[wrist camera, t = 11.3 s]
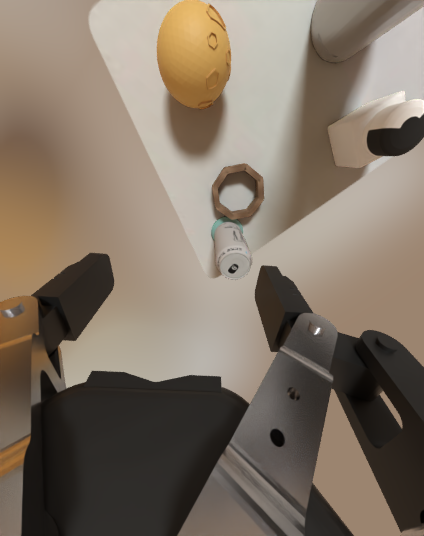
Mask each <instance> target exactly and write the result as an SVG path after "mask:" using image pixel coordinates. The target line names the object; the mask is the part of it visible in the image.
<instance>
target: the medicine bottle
mask: <svg viewBox="0 0 424 536" xmlns="http://www.w3.org/2000/svg"><path fill="white" fill-rule="evenodd" d="M327 129H328V134H329V138H330V143H331V147H332V152H333V156H334V161H335V165H336V166H341V167H352V168H361V167H363V166H365V165H367V164H369V163H371V162H373V161H375V160H376V159H378V158H380V157H382V156H399V155H402V154H405V153H407V152H408V151H409V150H411V149H413V148H414V147H415V146H416V145H417V144H418V143H419V142H420V141H421V140H422V139H423V137H424V100H421V99H413V100H409V101H406V102H405V91H400V92H397V93H394V94H391V95H388V96H385V97H382V98H379V99H376V100H373V101H370V102H368V103H366V104H364V105H363V106H361V107H359V108H358V109H356V110H355V111H353V112H351V113H350V114H348V115H346V116H345V117H343V118H341V119H340V120H338V121H336V122H335V123H333V124H331V125H330V126H328V128H327Z"/></svg>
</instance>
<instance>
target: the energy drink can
mask: <svg viewBox="0 0 424 536" xmlns="http://www.w3.org/2000/svg"><path fill="white" fill-rule="evenodd" d="M214 239H215V256H216V266H217V269H218V270H219V271H220V273H222V274H223V275H224V276H225V277H226V278H228V279H232V280H236V279H241V278H243V277H244V276H245V275H247V273H248V272H249V270H250V267H251V265H252V255H251V253H250V251H249V248H248V246H247V243H246V241H245V239H244V236H243V234H242V232H241V229H240V228H239V226H238V225H237V224H235V223H232V222H225V223H222V224H220V225H219V226H218V227H217V228H216V230H215V234H214Z"/></svg>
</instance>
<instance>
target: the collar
mask: <svg viewBox="0 0 424 536" xmlns="http://www.w3.org/2000/svg"><path fill="white" fill-rule="evenodd" d="M239 171H245V172H247V173H248V174H249V175H250V176H251V177H253V178H254V179H255V183H256V197H255V198H254V200H253V201H252V202H251V204H250V205H249V206H248V208H247V209H243V210H238V211H230V210H229V209H228V208H226V207H225V206H223V205H222V204H221V203H220V201H219V194H218V188H219V186H220V185H221V183H222V182H223V180H224V179H225V177H226V176H227V174H229V173H234V172H239ZM212 190H213V196H214V202H215V208H216V209H217V210H218V211H220V212H221V213H222V214H224V215H225V216H227V217H228V218H230V219H232V220H233V219H239V218H245V217H250V216H252V214H253V213H254V212H255V211H256V209H257V208H258V207H259V206H260V204H261V203H262V202H263V201H264V200H263V199H264V185H263V177H262V176H261V175H259V174H258V173H257V172H256V171H255V170H253V169H252V168H251V167H250V166H249V165H247V164H245V163H243V164H238V165H233V166H228V167H224V168H223V170H222V171H221V173H220V174H219V176H218V177H217V179H216V180H215V182H214V183H213V185H212Z"/></svg>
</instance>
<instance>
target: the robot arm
mask: <svg viewBox="0 0 424 536" xmlns="http://www.w3.org/2000/svg"><path fill="white" fill-rule="evenodd" d="M422 7H424V0H317V2H316V5H315V8H314V12H313V17H312V23H311V35H312V42H313V45H314V48H315V50H316V52H317V53H318V55H319V56H320V57H321V58H322V59H323V60H326V61H328V62H333V63H336V62H342V61H344V60H346V59H348V58H350V57H351V56H353V55H354V54H356V53H357V52H359V51H360V50H362V49H363V48H364V47H366V46H367V45H369V44H370V43H372V42H373V41H375V40H376V39H378V38H379V37H381V36H382V35H383V34H385V33H386V32H388V31H389V30H391V29H392V28H393V27H395V26H396V25H398V24H399V23H401V22H402V21H404V20H405V19H406V18H408V17H409V16H411V15H412V14H414V13H415V12H416V11H418V10H419V9H421V8H422ZM113 286H114V277H113V272H112V268H111V263H110V258H109V256H108V255H107V254H100V253H89V254H88V255H87V256H86V257H84V258H83V259H82V260H81V261H79V262H77V263H75V264H73V265H70V266H68V267H67V268H65V269H64V270H63V271H62V272H61V273H60V274H58V275H57V276H55V277H54V279H51V280H50V281H49V282H48V283H46V284H45V285H44V286H43V287H41V288H40V289H39V290H37V291H36V292H35V293H34V294H32V295H31V296H18V297H13V298H10V299H7V300H4V301H2V302H0V536H354V535H353V534H352V533H351V531H350V530H349V529H348V528H347V526H346V525H345V524H344V522H343V521H342V520H341V519H340V517H339V516H338V515H337V513H336V512H335V511H334V510H333V508H332V507H331V506H330V505H329V503H328V502H327V501H326V499H325V498H324V497H323V496H322V494H321V493H320V492H319V491H318V489H317V488H316V487H315V485H314V484H313V483H312V481H313V476H314V471H315V466H316V461H317V456H318V451H319V446H320V442H321V437H322V431H323V427H324V422H325V417H326V412H327V407H328V402H329V397H330V392H331V388H332V389H334V390H335V392H336V394H337V397H338V398H339V401H340V403H341V405H342V407H343V409H344V411H345V414H346V416H347V418H348V420H349V422H350V424H351V427H352V429H353V430H354V433H355V435H356V437H357V439H358V441H359V443H360V445H361V448H362V450H363V452H364V454H365V456H366V459H367V461H368V463H369V465H370V467H371V469H372V471H373V473H374V476H375V478H376V480H377V482H378V484H379V486H380V488H381V491H382V493H383V495H384V497H385V499H386V501H387V504H388V506H389V508H390V510H391V512H392V514H393V516H394V518H395V521H396V523H397V525H398V527H399V529H400V531H401V535H400V536H424V367H423V366H422V365H421V364H420V363H419V362H418V361H417V360H416V359H415V358H414V356H413V355H412V354H411V353H410V352H409V351H408V350H407V349H406V348H405V347H404V346H403V345H402V344H401V343H399V342H398V341H397V340H395V339H394V338H392V337H390V336H388V335H386V334H384V333H381V332H378V331H374V330H367V331H364V332H363V333H362V335H361V336H360V338H356V337H352V336H349V335H345V334H342V333H339V332H337V330H336V328H335V326H334V325H333V324H332V323H331V322H330V321H328V320H327V319H325V318H324V317H321V316H319V315H317V314H314V313H313V312H312V310H311V309H310V307H309V306H308V304H307V302H306V301H305V299H304V298H303V296H302V295H301V293H300V292H299V290H298V289H297V287H296V285H295V284H294V282H293V281H291V280H290V279H289V278H287V277H286V276H282V274H281V273H280V271H279V269H278V268H277V267H276V266H261V268H260V272H259V276H258V280H257V285H256V289H255V301H256V304H257V307H258V311H259V314H260V317H261V321H262V324H263V327H264V330H265V334H266V337H267V341H268V344H269V347H270V350H271V352H278V353H277V355H276V357H275V359H274V360H273V362H272V364H271V366H270V368H269V370H268V372H267V373H266V375H265V377H264V379H263V381H262V383H261V385H260V387H259V388H258V391H257V392H256V394H255V396H254V398H253V400H252V401H251V403H250V404H249V403H248V402H247V401H245V400H244V399H243V398H242V397H240V396H239V395H237V394H236V393H234V392H232V391H230V390H228V389H226V388H223V387H221V377H217V376H195V375H189V376H184V377H179V378H175V379H170V380H165V381H161V382H152V381H149V380H146V379H143V378H140V377H137V376H134V375H131V374H128V373H125V372H107V371H92V372H91V374H90V375H89V377H88V379H87V381H86V382H85V383H81V384H78V385H74V386H72V387H70V388H67V389H66V385H65V378H64V370H63V363H62V355H61V349H60V347H59V344H60V343H61V342H62V340H69V341H76V340H77V338H78V337H79V335H80V334H81V332H82V331H83V330H84V328H85V327H86V326H87V324H88V323H89V322H90V320H91V319H92V318H93V316H94V315H95V313H96V312H97V311H98V309H99V308H100V306H101V305H102V304H103V302H104V301H105V300H106V298H107V297H108V295H109V294H110V293H111V291H112V290H113ZM382 391H384V392H385V394H386V395H387V397H388V398H389V399H390V401H391V402H392V404H393V405H394V407H395V408H396V410H397V411H398V413H399V415H400V417H401V420H402V425H403V428H402V429H401V427H400V426H399V424H398V422H397V421H396V419H395V418H394V416H393V415H392V413H391V412H390V410H389V408H388V407H387V405H386V404H385V402H384V401H383V399H382V398H381V396H380V395H379V394H380V393H381V392H382Z"/></svg>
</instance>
